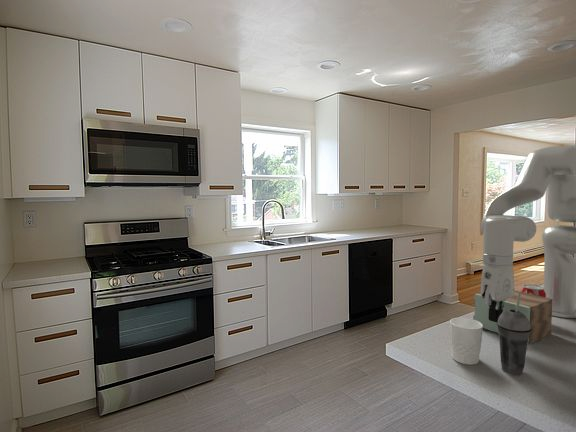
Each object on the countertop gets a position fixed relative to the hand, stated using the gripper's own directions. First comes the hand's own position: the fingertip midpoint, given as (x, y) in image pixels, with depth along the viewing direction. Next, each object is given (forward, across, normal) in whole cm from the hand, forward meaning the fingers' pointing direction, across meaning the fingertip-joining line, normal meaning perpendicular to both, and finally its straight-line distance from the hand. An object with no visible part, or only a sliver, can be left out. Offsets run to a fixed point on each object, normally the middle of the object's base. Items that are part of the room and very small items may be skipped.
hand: (495, 321), depth 104 cm
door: (+6, +6, +2) cm, 9 cm away
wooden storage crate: (+6, +14, +2) cm, 15 cm away
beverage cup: (+7, -13, -11) cm, 18 cm away
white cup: (+7, -17, -1) cm, 18 cm away
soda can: (+6, +26, +2) cm, 27 cm away
